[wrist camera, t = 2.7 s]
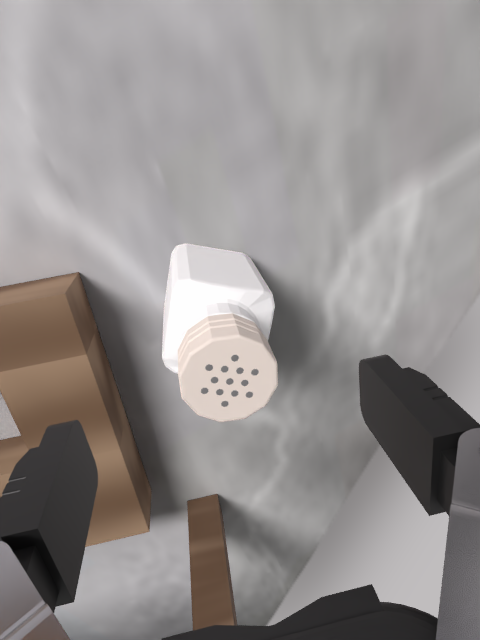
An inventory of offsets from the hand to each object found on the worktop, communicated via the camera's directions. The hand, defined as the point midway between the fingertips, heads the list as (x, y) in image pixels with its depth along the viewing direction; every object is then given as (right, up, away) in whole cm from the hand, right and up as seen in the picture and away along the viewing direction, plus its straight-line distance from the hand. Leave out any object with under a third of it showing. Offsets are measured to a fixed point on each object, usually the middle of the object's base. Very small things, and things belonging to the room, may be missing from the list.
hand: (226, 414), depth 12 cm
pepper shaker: (-1, +5, +10) cm, 11 cm away
